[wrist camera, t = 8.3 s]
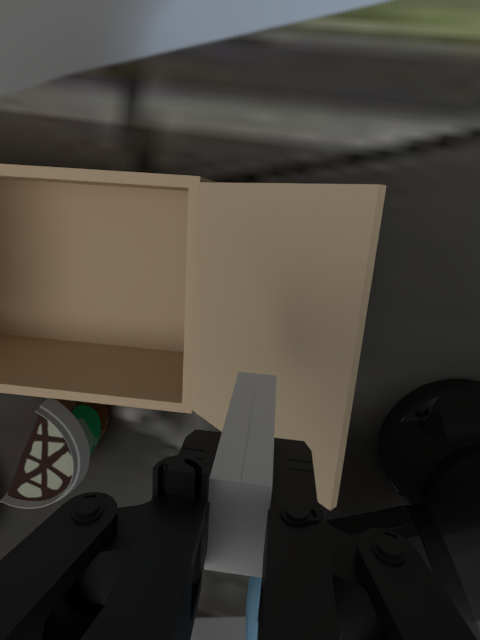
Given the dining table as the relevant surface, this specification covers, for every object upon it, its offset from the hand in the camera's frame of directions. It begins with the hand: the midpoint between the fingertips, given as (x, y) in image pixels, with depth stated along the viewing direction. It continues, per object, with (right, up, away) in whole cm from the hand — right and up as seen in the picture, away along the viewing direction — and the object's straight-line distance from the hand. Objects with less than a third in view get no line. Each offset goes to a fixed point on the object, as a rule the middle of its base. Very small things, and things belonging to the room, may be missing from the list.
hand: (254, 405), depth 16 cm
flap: (+1, +3, +9) cm, 9 cm away
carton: (-17, +9, +27) cm, 33 cm away
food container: (-18, -8, +32) cm, 37 cm away
